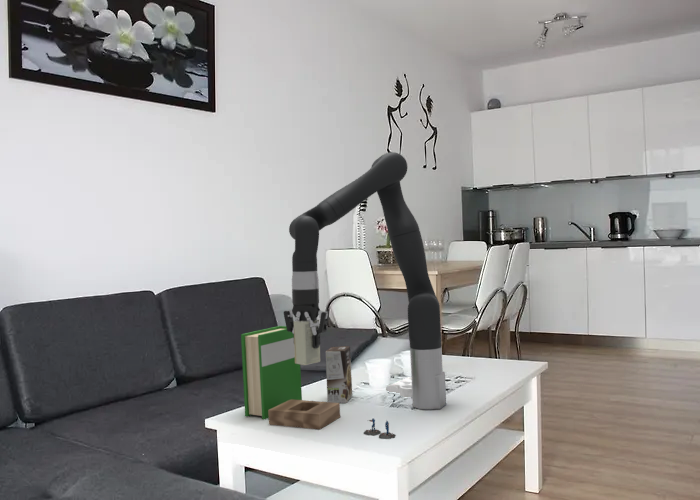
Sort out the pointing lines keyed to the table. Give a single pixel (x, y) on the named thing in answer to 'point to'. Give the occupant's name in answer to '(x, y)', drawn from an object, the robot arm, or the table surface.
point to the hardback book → (269, 370)
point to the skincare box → (305, 344)
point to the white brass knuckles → (401, 387)
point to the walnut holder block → (304, 414)
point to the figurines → (383, 435)
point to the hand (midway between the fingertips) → (306, 347)
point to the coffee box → (338, 374)
